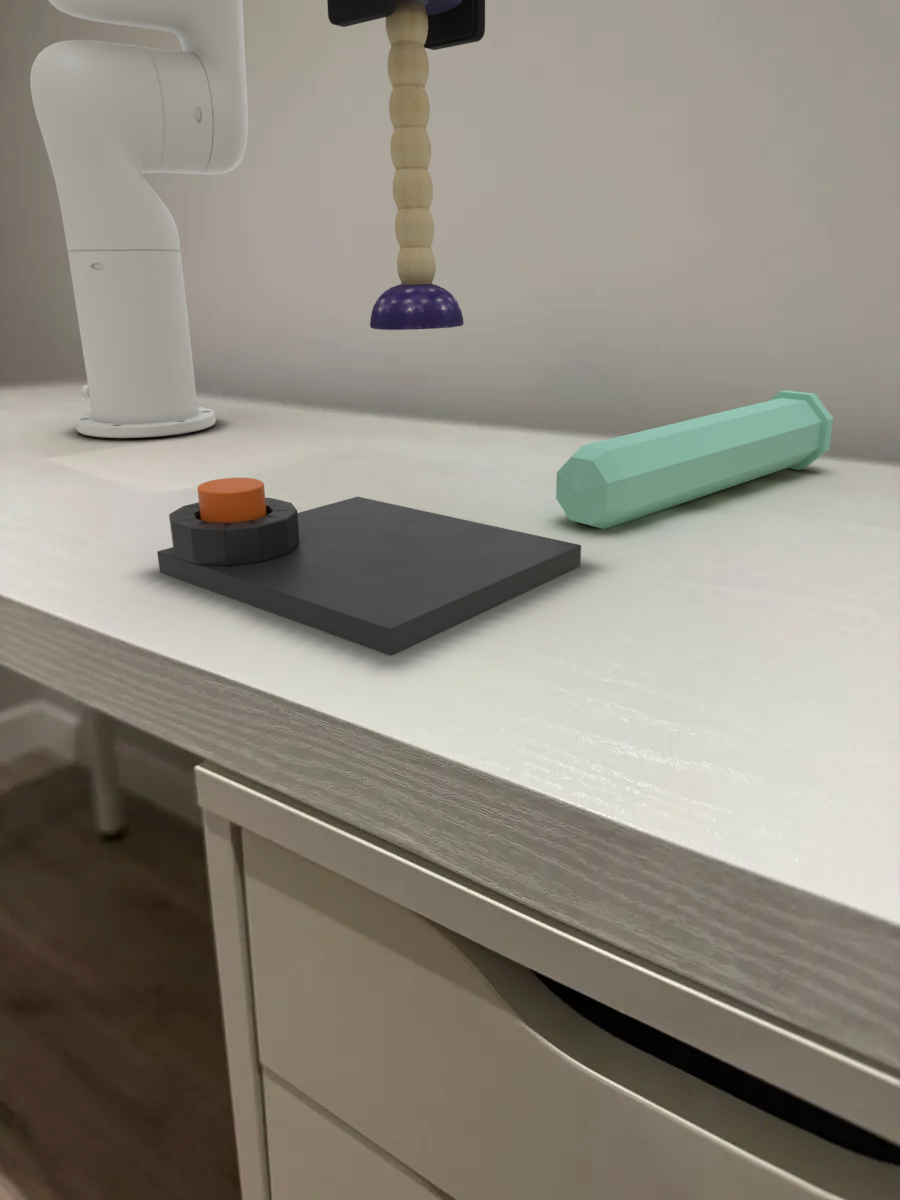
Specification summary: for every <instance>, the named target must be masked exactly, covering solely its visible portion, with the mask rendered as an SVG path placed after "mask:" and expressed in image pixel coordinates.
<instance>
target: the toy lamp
mask: <svg viewBox="0 0 900 1200" xmlns="http://www.w3.org/2000/svg"><path fill="white" fill-rule="evenodd" d="M461 1H462V0H397V8H396V10H395V12H394V13H393V14H392V15H391V16H388V17H385V30H386V35H387V40H388V41H389V43H390V49H389V51H388V56H387V63H386V65H387V67H386V68H387V77H388V79H389V82H390V85H391V87H392V90H391V92H390V95H389V99H388V114H389V121H390V122H391V125H392V127H393V132H392V134H391V138H390V157H391V161H392V165H393V167H394V169H395V173H394V175H393V180H392V196H393V200H394V203H395V206H396V208H397V212H396V215H395V220H394V221H395V222H394V232H395V238H396V241H397V244H398V245H399V246H398V247H399V251H398V253H397V259H396V271H397V275H398V278H399V280H400V284H398V285H394V286H391V287H390V288H388V289H386V290H385V291H383V293H381V294H380V295H379V296H378V298H377V299H376V301H375V303H374V304H373V307H372V309H371V314H370V321H369V328H370V329H374V330H383V331H409V330H410V331H413V330H415V331H417V330H433V329H435V330H436V329H450V328H456V327H461V326H464V322H465V321H464V316H463V312H462V309H461V307H460V304H459V302H458V300H457V299H456V297H454V295H453V294H452V293H451V292H450V291H448V290H447V289H445V288H444V287H441V286H440V285H437V284H434V283H433V281H434V279H435V276H436V270H437V269H436V267H437V266H436V258H435V255H434V251H433V249H432V244H433V242H434V237H435V221H434V217H433V214H432V212H431V210H430V208H431V205H432V202H433V198H434V183H433V180H432V175H431V173H430V172H429V167H430V163H431V159H432V144H431V139H430V136H429V135H430V134H429V133H428V131H427V127H428V124H429V121H430V113H431V107H430V106H431V105H430V104H431V103H430V99H429V96H428V93H427V91H426V86H427V83H428V79H429V74H430V63H429V57H428V53H427V51H426V48H424V44H425V42H426V38H427V34H428V18H427V15H435V14H438V13H442V12H446V11H448V10H450V9H452V8H455V7H456V6H458V5H459V4H460V3H461Z"/></svg>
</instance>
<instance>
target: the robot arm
mask: <svg viewBox="0 0 900 1200" xmlns="http://www.w3.org/2000/svg"><path fill="white" fill-rule="evenodd" d="M48 2H49V4H51V5H52V6H53V7H54V8H55V9H56V10H58V11H59V12H62V13H64V14H66V15H69V16H70V17H73V18H78V19H82V20H86V21H91V22H97V23H104V24H110V25H118V26H126V27H133V28H141V29H149V30H155V31H163V32H170V33H173V34H175V36H176V37H177V38H178V40H179V44H180V45H181V49H182V50H176V49H175V50H174V49H168V48H167V49H166V48H156V47H148V46H144V45H141V44H140V45H138V44H130V43H121V42H112V41H104V40H96V39H95V40H94V39H70V40H62V41H57V42H55V43H52V44H50V45H48V46H47V47H45V48H43V49H42V50H41V51H40V52H39V53H38V54H37V56H36V58H35V59H34V61H33V64H32V66H31V69H30V79H29V80H30V81H29V82H30V92H31V93H30V94H31V101H32V104H33V108H34V113H35V116H36V120H37V123H38V126H39V130H40V132H41V135H42V139H43V142H44V146H45V149H46V153H47V155H48V160H49V164H50V167H51V171H52V175H53V179H54V183H55V187H56V192H57V198H58V202H59V208H60V212H61V213H60V214H61V218H62V226H63V231H64V238H65V243H66V250H67V255H68V263H69V268H70V269H69V270H70V275H71V282H72V288H73V289H72V290H73V296H74V303H75V310H76V315H77V321H78V328H79V335H80V342H81V347H82V354H83V361H84V362H83V363H84V368H85V375H86V380H87V382H86V383H87V384H84V385H82V387H81V388H80V394H81V396H82V397H83V399H88V400H89V402H90V407H91V412H89V413H85V414H82V415H80V416H78V417H77V418H76V419H75V426H76V431H77V432H78V433H79V434H80V435H84V436H89V437H94V438H95V437H97V438H106V439H137V438H140V439H141V438H156V437H166V436H167V437H168V436H174V435H175V436H176V435H182V434H189V433H193V432H199V431H203V430H206V429H208V428H211V427H212V426H215V424H216V423H217V419H216V412H215V411H214V410H213V409H211V408H207V407H203V406H198V397H197V387H196V379H195V369H194V362H193V351H192V343H191V334H190V324H189V315H188V314H189V313H188V305H187V297H186V287H185V277H184V268H183V261H182V252H181V243H180V236H179V231H178V230H179V229H178V227H177V224H176V222H175V220H174V217H173V215H172V213H171V212H170V210H169V208H168V207H167V205H166V204H165V203H164V202H163V200H162V199H161V198H160V197H159V195H158V194H157V193H156V191H155V189H153V187H151V185H150V184H149V183H148V181H147V180H146V178H145V177H144V176H143V174H155V173H156V174H157V173H158V174H159V173H161V174H179V175H180V174H183V175H224V174H227V173H230V172H232V171H234V170H235V169H236V168H237V167H239V165H240V164H241V163H242V161H243V160H244V159H243V158H244V156H245V154H246V150H247V143H248V135H249V113H248V112H249V109H248V87H247V69H246V68H247V67H246V48H245V47H246V46H245V29H244V8H243V0H48ZM326 2H327V17H328V21H329V22H330V24H332V25H334V26H337V27H341V28H346V27H351V26H354V25H359V24H363V23H367V22H372V21H376V20H379V19H385V18H386V17H388V16H391V15H392V14H393V13H394V12H395V10H396V8H397V0H326ZM427 18H428V34H427V38H426V42H425V44H424V48H425V49H427V50H432V51H437V50H442V49H447V48H451V47H457V46H463V45H468V44H472V43H477V42H480V41H481V40H482V39H483V38H484V36H485V33H486V0H462V1H461V3H460V4H459V5H458V6H456V7H455V8H452V9H450V10H448V11H446V12H442V13H438V14H435V15H427Z"/></svg>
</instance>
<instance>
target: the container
mask: <svg viewBox="0 0 900 1200" xmlns="http://www.w3.org/2000/svg"><path fill="white" fill-rule="evenodd" d="M834 419H835V418H834V417H833V416H832V414H831V413H830V411H828V409H827V407H826V406H825V405H824V403H823V402H822V400H820V398H819V397H818V395H817V394H816V393H813V392H804V391H795V390H781V391H779V392H778V393H777V394H776V395H774V396H773V397H772V398H771V399H770V400H767V401H763V402H758V403H754V404H749V405H747V406H742V407H737V408H733V409H729V410H724V411H721V412H716V413H712V414H707V415H704V416H699V417H696V418H692V419H691V418H690V419H687V420H683V421H677V422H675V423H669V424H666V425H663V426H657V427H654V428H649V429H645V430H641V431H637V432H633V433H628V434H625V435H619V436H615V437H612V438H609V439H608V438H607V439H603V440H600V441H595V442H590V443H587V444H582V445H581V446H580V447H579V448H578V449H576V451H575V452H574V453H573V454H572V455H571V456H570V457H569V458H568V459H567V461H565V463H564V464H563V465H562V466H561V467H560V468H559V469H558V470H557V471H556V484H555V485H556V488H555V489H556V490H555V499H556V501H557V502H558V504H559V506H560V507H561V508H562V510H563V512H564V513H565V515H566V517H567V518H568V520H569V521H573V522H576V523H579V524H583V525H586V526H590V527H594V528H597V529H602V530H606V529H609V528H613V527H615V526H618V525H621V524H625V523H628V522H631V521H634V520H637V519H640V518H642V517H646V516H649V515H651V514H654V513H658V512H661V511H664V510H666V509H669V508H672V507H676V506H678V505H681V504H684V503H687V502H690V501H693V500H696V499H699V498H702V497H705V496H708V495H711V494H714V493H716V492H720V491H722V490H725V489H728V488H731V487H734V486H737V485H740V484H744V483H747V482H749V481H752V480H755V479H758V478H761V477H765V476H768V475H769V474H773V473H777V472H780V471H782V470H785V469H792V470H795V471H802V470H804V469H806V468H808V467H809V466H810V465H812V464H813V463H814V462H815V461H817V460H818V459H819V458H821V457H822V456H823V455H825V454H826V453H827V452H829V451H830V448H831V439H832V433H833V427H834V426H833V424H834Z"/></svg>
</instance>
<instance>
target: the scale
mask: <svg viewBox="0 0 900 1200" xmlns="http://www.w3.org/2000/svg"><path fill="white" fill-rule="evenodd" d="M265 502H266V514H267V516H265V517H262V518H258V519H254V520H250V521H241V522H231V523H224V522H206V521H202V520H201V515H200V506H199V501H198V502H194V503H190V504H186V505H182V506H181V507H179V508H177V509H175V510H174V511H172V512H171V513H169V514H168V517H169V526H170V535H171V543H172V547H168V548H164V549H161V550H158V551H157V559H158V568H159V573H160V574H163V575H164V576H167V577H170V578H173V579H176V580H179V581H182V582H185V583H187V584H190V585H193V586H195V587H198V588H202V589H204V590H206V591H210V592H212V593H215V594H218V595H221V596H224V597H227V598H229V599H231V600H235V601H238V602H240V603H243V604H246V605H248V606H251V607H254V608H257V609H259V610H261V611H264V612H265V611H266V612H268V613H272V614H274V615H276V616H279V617H282V618H285V619H287V620H290V621H293V622H295V623H299V624H301V625H305V626H307V627H310V628H312V629H316V630H318V631H321V632H324V633H327V634H330V635H332V636H335V637H337V638H341V639H344V640H346V641H349V642H351V643H354V644H358V645H360V646H362V647H366V648H369V649H371V650H374V651H376V652H379V653H382V654H385V655H387V656H394V655H396V654H398V653H400V652H402V651H404V650H407V649H409V648H411V647H413V646H415V645H417V644H419V643H422V642H423V641H426V640H427V639H430V638H433V637H434V636H436V635H438V634H440V633H442V632H445V631H448V629H451V628H453V627H455V626H457V625H459V624H462V623H463V622H466V621H468V620H470V619H472V618H474V617H476V616H478V615H480V614H483V613H484V612H488V611H489V610H491V609H493V608H495V607H497V606H499V605H502V604H503V603H506V602H508V601H510V600H512V599H514V598H517V597H518V596H521V595H523V594H525V593H527V592H530V591H531V590H533V589H535V588H538V587H539V586H542V585H544V584H546V583H548V582H550V581H552V580H555V579H557V578H559V577H561V576H563V575H565V574H567V573H570V572H572V571H574V570H576V569H578V568H580V567H581V560H582V559H581V558H582V545H581V544H577V543H575V542H569V541H564V540H561V539H560V540H559V539H554V538H550V537H546V536H541V535H536V534H532V533H527V532H523V531H519V530H514V529H509V528H504V527H499V526H496V525H491V524H486V523H483V522H477V521H472V520H467V519H463V518H458V517H454V516H449V515H445V514H439V513H435V512H431V511H427V510H426V511H425V510H422V509H416V508H412V507H408V506H403V505H400V504H399V505H398V504H394V503H389V502H385V501H380V500H375V499H371V498H366V497H361V496H355V497H350V498H347V499H343V500H340V501H336V502H333V503H329V504H325V505H322V506H317V507H313V508H310V509H307V510H304V511H300V512H298V510H297V509H298V508H297V507H295V506H294V504H293V503H292V502H289V501H285V500H281V499H277V498H274V497H266V496H265Z"/></svg>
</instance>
